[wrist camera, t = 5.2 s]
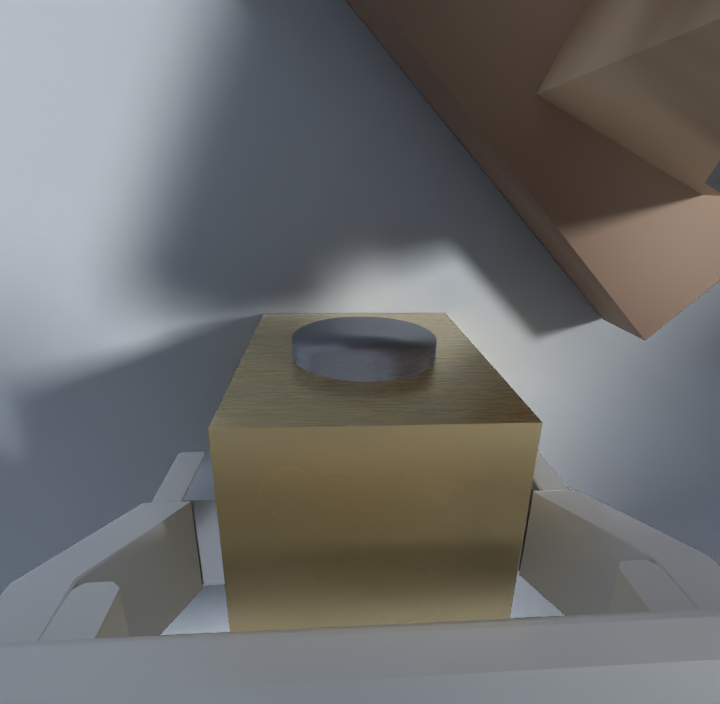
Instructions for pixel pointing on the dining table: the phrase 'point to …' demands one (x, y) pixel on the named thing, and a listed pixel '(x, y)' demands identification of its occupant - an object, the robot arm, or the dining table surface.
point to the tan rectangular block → (369, 475)
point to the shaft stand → (585, 131)
